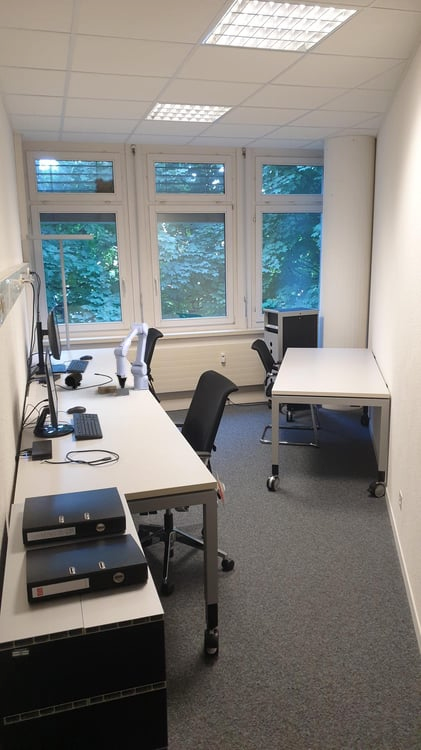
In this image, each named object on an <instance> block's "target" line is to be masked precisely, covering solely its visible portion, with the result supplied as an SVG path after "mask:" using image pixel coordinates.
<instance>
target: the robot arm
mask: <svg viewBox="0 0 421 750" xmlns="http://www.w3.org/2000/svg"><path fill="white" fill-rule="evenodd" d="M148 333H149V325H148V324H147V323H146V322H132V324H130V331H129V332H128V334H127V336H126V338H123V339H122V340H121V342H120V343H119V345H118V346H117V347H115V348H114V351H113V354H114V356H115V359H116V364H115V365H116V372H114V374H115V375H116V377H117V381H118V385H119V387H121V388H124V387H125V386H126V381H127V379H128V376H126V375H127V370H126V369H127V365H126V363H127V362H126V356H127V355H128V350H129V348H130V346H131V345H132V340H133V339H134V338H135V337H136V336H137V338H138V341H137V349H136V354H135V355H136V356H135V360H134V361H133V362H132V363H131V367H130V374H132V376H133V386H132V389H133V391H139V390H149V377H148V375H147V372H148V369H147V368H148V367H147V366H148V365H147V364H146V362H145V354H146V353H145V352H146V344H147V337H148ZM125 376H126V377H125Z"/></svg>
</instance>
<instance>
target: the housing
mask: <svg viewBox="0 0 421 750" xmlns="http://www.w3.org/2000/svg"><path fill="white" fill-rule="evenodd" d="M114 394H115V395H116V397H125V396H130V387H129V386H128V385H127V386H126V385H125V387H124V388H121V386H117V387H116V390H115V393H114Z"/></svg>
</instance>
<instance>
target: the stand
mask: <svg viewBox="0 0 421 750" xmlns="http://www.w3.org/2000/svg"><path fill="white" fill-rule="evenodd" d="M116 387H118V386H117V385H107V386H106V385H104V386H98V387H97V390H98V393H99V395H108V394H110V395H111V394H115V390H116Z"/></svg>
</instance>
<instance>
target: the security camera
mask: <svg viewBox="0 0 421 750" xmlns="http://www.w3.org/2000/svg"><path fill="white" fill-rule="evenodd" d="M82 381H83V374H82V373H81V371H74V372H72V373H70V374H69V375H67V376H66V377H65V378H64V385H65V386H67V387H68V388H69V387H71V390H76V389H78V387H80V386H81V385H82V383H81V382H82Z"/></svg>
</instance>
